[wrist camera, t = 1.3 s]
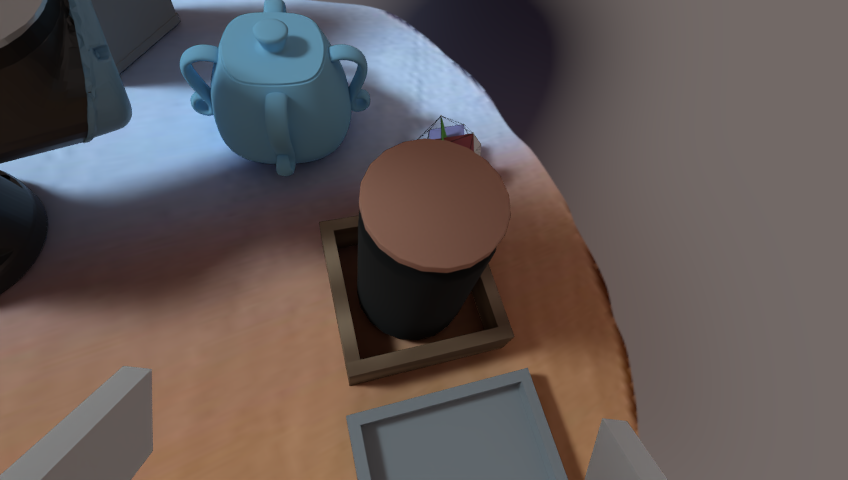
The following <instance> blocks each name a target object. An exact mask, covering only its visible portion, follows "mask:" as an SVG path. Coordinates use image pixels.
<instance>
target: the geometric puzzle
mask: <svg viewBox="0 0 848 480" xmlns="http://www.w3.org/2000/svg"><path fill="white" fill-rule="evenodd" d="M441 116H442V115H440V117H441ZM440 117H439V118H440ZM442 117H443V116H442ZM439 118H438V119H439ZM438 119H437V120H436V121H435V122H434V123H436V122H437V121H438ZM445 119H446V117H445ZM447 120H448V118H447ZM450 120H451V119H450ZM450 120H449V121H450ZM453 121H454V120H453ZM451 122H452V121H451ZM455 122H456V121H455ZM434 123H433V124H434ZM453 123H454V122H453ZM458 123H459V122H458ZM433 124H432V125H433ZM461 124H462V123H461ZM432 125H431V126H432ZM431 126H430V127H431ZM430 127H429V128H430ZM432 127H433V126H432ZM432 127H431V128H432ZM464 127H465V126H464V124H462V125H455V126H449V127H444V125H443V121H442V118H441V128H436V129H431V128H430V129H429V128H428V129H429V130H428V129H427V130H428V131H429V134H428V138H429V139H436V140H446V141H450V142H453V143H455V144H458V145H461V146H464V147H467V148H469V149H470V150H472V151H473V152H475V153H476V154H478V155H479V156H481V144H480V142H479V141H478V139H477V138H476V136H475V135H474V133H473V132H472V131H471V133H472V134H465V135H464V129H466V128H464ZM427 130H426V131H427ZM426 131H425V132H426ZM428 131H427V132H428ZM466 131H467V129H466ZM425 132H424V133H425ZM424 133H423V134H424ZM467 133H468V132H467ZM423 134H422V135H421V137H422V136H423Z"/></svg>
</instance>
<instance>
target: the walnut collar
mask: <svg viewBox="0 0 848 480" xmlns="http://www.w3.org/2000/svg"><path fill="white" fill-rule="evenodd" d="M358 220H359V216H353V217H347V218H341V219H335V220H328V221H322V222H319V225H320V232H321V239H322V245H323V250H324V255H325V260H326V266H327V271H328V276H329V281H330V287H331V292H332V297H333V302H334V307H335V313H336V318H337V323H338V328H339V333H340V339H341V344H342V349H343V354H344V360H345V365H346V370H347V375H348V380H349V386H350V385H354V384H358V383H363V382H367V381H371V380H375V379H379V378H383V377H387V376H391V375H395V374H399V373H403V372H407V371H411V370H415V369H419V368H423V367H427V366H431V365H435V364H439V363H443V362H447V361H451V360H455V359H459V358H463V357H467V356H471V355H475V354H479V353H483V352H487V351H491V350H495V349H499V348H502V347H504V346H505V345H506V344H507V343H508V342H509V341H510V340H511V339H512V338H513V337H514V334H513V331H512V328H511V326H510V323H509V320H508V317H507V314H506V312H505V309H504V306H503V303H502V300H501V298H500V295H499V292H498V289H497V287H496V284H495V281H494V278H493V275H492V273H491V270H490V267H489V264H487V266H486V268H485V269H484V271H483V273H482V274H481V276H480V277H479V279H478V281H477V282H476V284H475V286H474V287H473V289H472V294H473V297H474V300H475V303H476V306H477V309H478V312H479V315H480V318H481V321H482V324H483V327H484V331H480V332H475V333H471V334H467V335H463V336H459V337H454V338H450V339H446V340H442V341H437V342H433V343H429V344H425V345H421V346H416V347H412V348H408V349H404V350H400V351H395V352H391V353H387V354H383V355H378V356H374V357H370V358H366V359H362V360H360V356H359V352H358V347H357V342H356V337H355V332H354V327H353V322H352V318H351V313H350V308H349V303H348V298H347V293H346V289H345V284H344V279H343V274H342V269H341V264H340V260H339V255H338V250H337V248H341V247H347V246H352V245H358Z"/></svg>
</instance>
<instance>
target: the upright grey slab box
mask: <svg viewBox="0 0 848 480" xmlns="http://www.w3.org/2000/svg"><path fill="white" fill-rule="evenodd" d="M91 2H92V5H93V7H94V10H95V13H96V15H97V18H98V20H99V23H100V26H101V28H102V31H103V34H104V36H105V39H106V41H107V44H108V47H109V50H110V52H111V55H112V57H113V60H114V62H115V65H116V67H117V70H118V73H119V74H120V73H121V72H122V71H124V70H125V69H126V68H127V67H128V66H129V65H130V64H132V63H133V62H134V61H135V60H136V59H137V58H139V57H140V56H141V55H142V54H143V53H144V52H146V51H147V50H148V49H149V48H150V47H151V46H152V45H154V44H155V43H156V42H157V41H158V40H159V39H161V38H162V37H163V36H164V35H165V34H166V33H168V32H169V31H170V30H171V29H172V28H174V27H176V25H177V24H178V23H179V22H180V18H179V16H178V14H177V13H176V12H175V10H174V7H173V4H172V2H171V0H91Z"/></svg>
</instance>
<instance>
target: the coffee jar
mask: <svg viewBox="0 0 848 480" xmlns="http://www.w3.org/2000/svg"><path fill="white" fill-rule="evenodd" d="M359 208H360V209H359V220H358V279H357V293H358V297H359V301H360V305H361V309H362V310H363V312H364V313H365V315H366V316H367V318H368V319H369V321H370V322H371V323H372V324H373V325H375V326H376V327H377V328H378V329H380V330H381V331H382V332H383V333H385V334H388V335H391V336H393V337H396V338H399V339H409V340H419V339H423V338H427V337H430V336H434V335H436V334H437V333H439V332H440V331H442V330H443V329H445V328H446V327H448V325H449V324H450V323H451V321H452V320H453V319H454V317H455V316H456V315H457V313H458V312H459V310H460V309H461V307H462V305H463V304H464V302H465V300H466V299H467V297H468V295H469V294H470V292H471V291H472V289H473V287H474V286H475V284H476V282H477V281H478V279H479V277H480V276H481V274H482V273H483V271H484V269H485V268H486V266H487V264H488V263H489V261H490V259H491V258H492V256H493V255H494V253H495V250H496V247H497V245H498V244H499V242H500V241H501V240H502V239H503V237H504V236H505V234H506V230H507V227H508V223H509V220H510V216H511V214H510V202H509V194H508V192H507V190H506V188H505V185H504V183H503V181H502V179H501V176H500V175H499V174H498V173H497V172H496V171H495V169H494V168H493V167H492V166H491V165H490V164H489V163H488V161H487V160H485V159H484V158H482V157H481V156H479V155H478V154H476V153H475V152H473V151H472V150H470V149H469V148H467V147H464V146H461V145H458V144H455V143H453V142H450V141H446V140H436V139H426V138H425V139H419V140H413V141H406V142H403V143H400V144H398V145H396V146H394V147H392V148H390V149H387V150H385V151H384V152H383V153H382V154H381V155H380V156H379V157H378V158H377V159H375V160H374V161H373V162H372V163H371V164H370V166H369V168H368V170H367V171H366V173H365V175H364V177H363V179H362V181H361V185H360V196H359Z"/></svg>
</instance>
